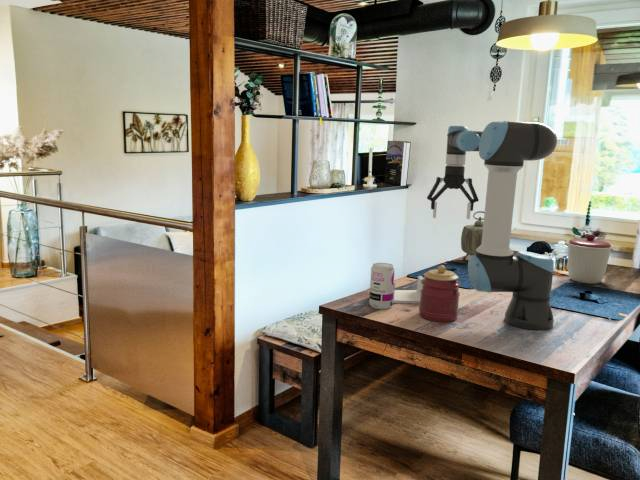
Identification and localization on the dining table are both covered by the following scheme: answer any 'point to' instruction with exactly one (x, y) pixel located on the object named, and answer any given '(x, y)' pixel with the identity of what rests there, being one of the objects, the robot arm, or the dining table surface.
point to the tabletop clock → (472, 236)
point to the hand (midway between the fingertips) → (451, 218)
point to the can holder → (408, 294)
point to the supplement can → (381, 286)
